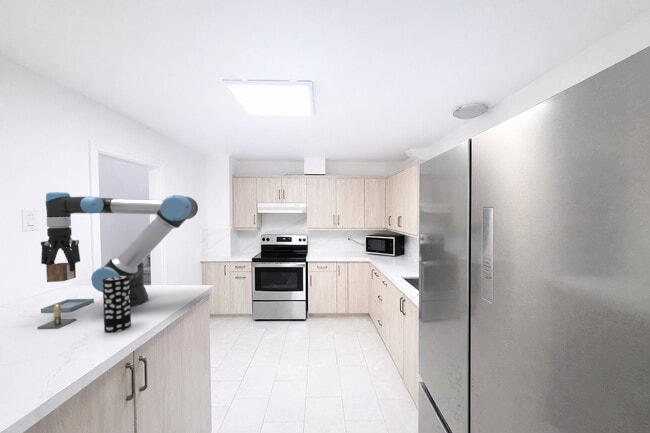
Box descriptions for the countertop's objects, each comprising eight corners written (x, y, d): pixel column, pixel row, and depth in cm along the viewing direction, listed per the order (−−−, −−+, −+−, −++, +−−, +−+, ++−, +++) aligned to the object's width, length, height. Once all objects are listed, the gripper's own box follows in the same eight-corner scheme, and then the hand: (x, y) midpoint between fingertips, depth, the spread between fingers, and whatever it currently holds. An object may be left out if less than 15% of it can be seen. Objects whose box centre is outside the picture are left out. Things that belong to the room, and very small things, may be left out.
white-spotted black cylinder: (129, 321, 110) (127, 274, 109) (132, 327, 104) (131, 277, 103) (103, 328, 104) (101, 278, 103) (105, 335, 98) (103, 282, 98)
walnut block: (75, 277, 119) (75, 262, 119) (63, 281, 113) (62, 265, 113) (60, 278, 119) (59, 262, 119) (46, 282, 112) (46, 265, 112)
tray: (93, 302, 134) (93, 298, 134) (69, 312, 121) (69, 308, 121) (67, 303, 134) (67, 299, 134) (40, 313, 121) (40, 308, 121)
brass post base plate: (76, 320, 112) (75, 301, 112) (58, 328, 104) (57, 307, 104) (57, 320, 112) (56, 301, 112) (37, 329, 104) (36, 308, 104)
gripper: (90, 226, 120) (92, 275, 121) (43, 227, 118) (45, 278, 119) (76, 227, 113) (78, 280, 113) (26, 228, 111) (29, 282, 111)
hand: (61, 279), depth 116 cm, fingers closed on walnut block, 6 cm apart
